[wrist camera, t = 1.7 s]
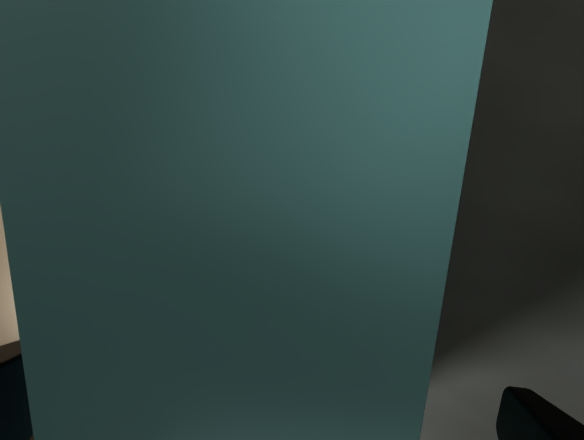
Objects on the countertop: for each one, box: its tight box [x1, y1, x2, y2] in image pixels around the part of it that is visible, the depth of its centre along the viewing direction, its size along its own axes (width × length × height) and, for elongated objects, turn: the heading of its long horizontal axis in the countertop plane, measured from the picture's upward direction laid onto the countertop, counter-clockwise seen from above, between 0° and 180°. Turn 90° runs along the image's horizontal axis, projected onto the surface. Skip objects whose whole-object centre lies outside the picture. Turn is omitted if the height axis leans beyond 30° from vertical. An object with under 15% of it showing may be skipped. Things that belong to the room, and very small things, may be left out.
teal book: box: [0, 0, 493, 440], centre depth 9 cm, size 4×12×10 cm, turn 177°
